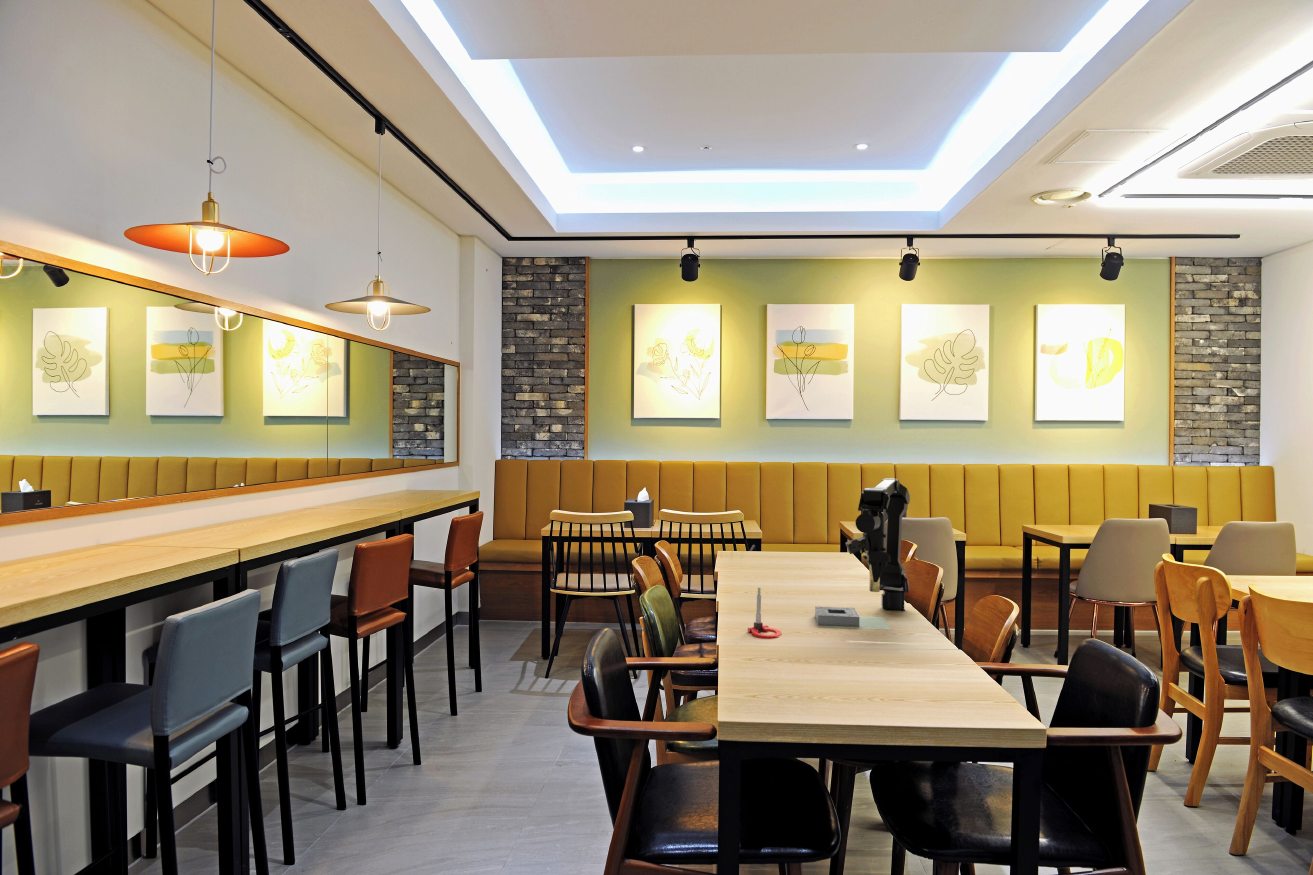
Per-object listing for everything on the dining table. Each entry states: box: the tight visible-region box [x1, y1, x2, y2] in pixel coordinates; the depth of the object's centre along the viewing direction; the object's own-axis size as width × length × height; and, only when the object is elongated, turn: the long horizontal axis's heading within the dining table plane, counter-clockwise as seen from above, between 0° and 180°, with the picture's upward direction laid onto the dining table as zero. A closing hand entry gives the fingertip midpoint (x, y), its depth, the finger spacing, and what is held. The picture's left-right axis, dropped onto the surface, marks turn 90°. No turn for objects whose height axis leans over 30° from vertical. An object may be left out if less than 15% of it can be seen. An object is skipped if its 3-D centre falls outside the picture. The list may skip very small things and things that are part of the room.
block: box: [814, 606, 860, 627], centre depth 224 cm, size 12×12×3 cm
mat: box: [815, 616, 892, 631], centre depth 223 cm, size 21×15×1 cm
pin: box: [868, 565, 881, 593], centre depth 222 cm, size 3×3×10 cm
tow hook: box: [747, 587, 783, 640], centre depth 210 cm, size 8×13×9 cm
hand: (874, 581), depth 222 cm, fingers closed on pin, 3 cm apart
